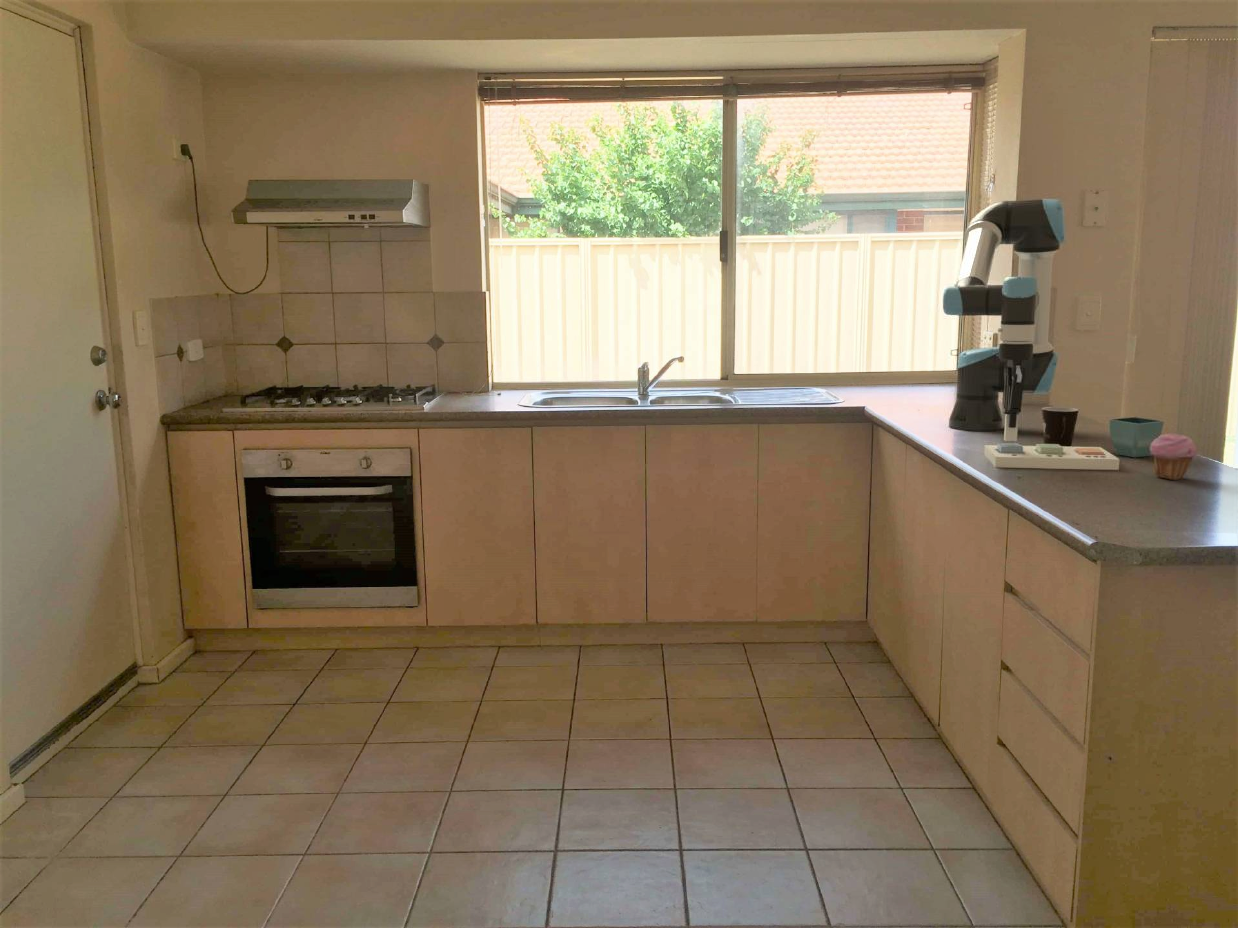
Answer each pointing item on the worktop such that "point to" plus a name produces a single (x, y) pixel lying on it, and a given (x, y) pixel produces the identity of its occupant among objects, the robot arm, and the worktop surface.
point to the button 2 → (1049, 449)
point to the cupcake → (1172, 455)
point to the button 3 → (1089, 451)
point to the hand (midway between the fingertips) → (1010, 440)
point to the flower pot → (1134, 435)
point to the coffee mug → (1059, 425)
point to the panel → (1051, 459)
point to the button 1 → (1009, 448)
